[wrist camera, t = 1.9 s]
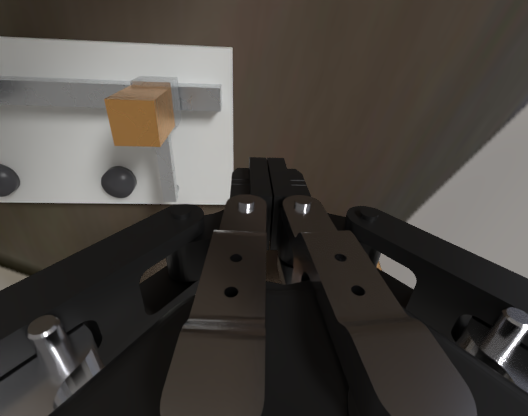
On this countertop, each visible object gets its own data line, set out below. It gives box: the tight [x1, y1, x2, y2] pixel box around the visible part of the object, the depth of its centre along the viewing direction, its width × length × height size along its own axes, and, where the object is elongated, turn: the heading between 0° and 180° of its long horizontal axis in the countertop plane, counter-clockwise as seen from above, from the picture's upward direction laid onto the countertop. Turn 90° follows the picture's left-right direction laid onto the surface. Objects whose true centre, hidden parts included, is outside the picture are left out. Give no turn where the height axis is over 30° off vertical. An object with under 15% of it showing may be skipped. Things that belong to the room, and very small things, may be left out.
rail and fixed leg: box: [0, 76, 222, 112], centre depth 25 cm, size 11×26×10 cm, turn 87°
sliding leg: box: [104, 76, 182, 202], centre depth 25 cm, size 11×3×8 cm, turn 177°
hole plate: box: [0, 36, 234, 205], centre depth 29 cm, size 16×28×3 cm, turn 87°
